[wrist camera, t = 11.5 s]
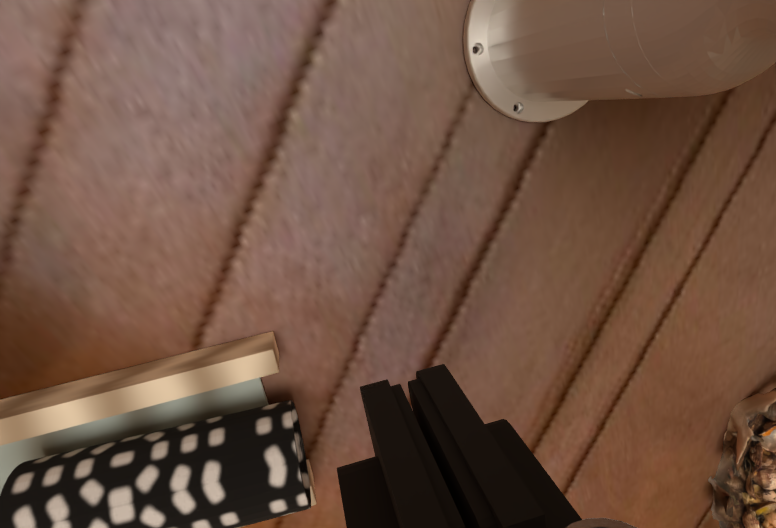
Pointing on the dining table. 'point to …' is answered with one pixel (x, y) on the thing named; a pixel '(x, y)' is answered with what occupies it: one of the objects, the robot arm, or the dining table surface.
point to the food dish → (748, 466)
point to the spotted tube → (169, 477)
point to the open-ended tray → (138, 401)
